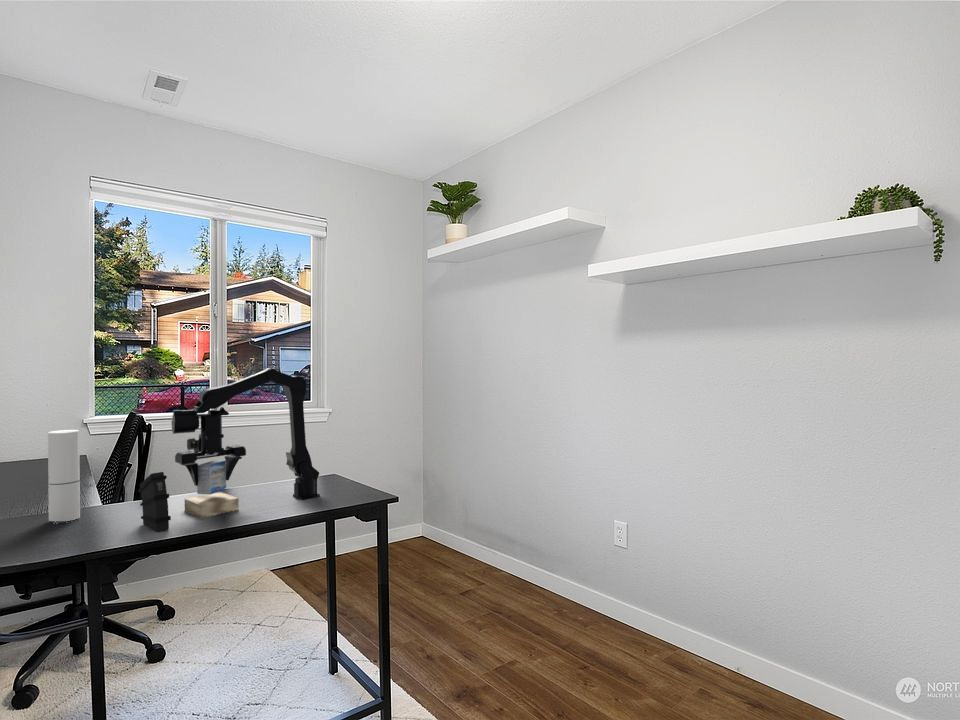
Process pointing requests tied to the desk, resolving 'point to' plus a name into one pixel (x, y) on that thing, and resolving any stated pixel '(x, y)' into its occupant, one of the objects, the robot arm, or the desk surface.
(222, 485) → the medicine box
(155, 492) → the magazine
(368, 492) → the desk surface
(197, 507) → the maple block
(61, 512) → the cylindrical container
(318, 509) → the desk surface
